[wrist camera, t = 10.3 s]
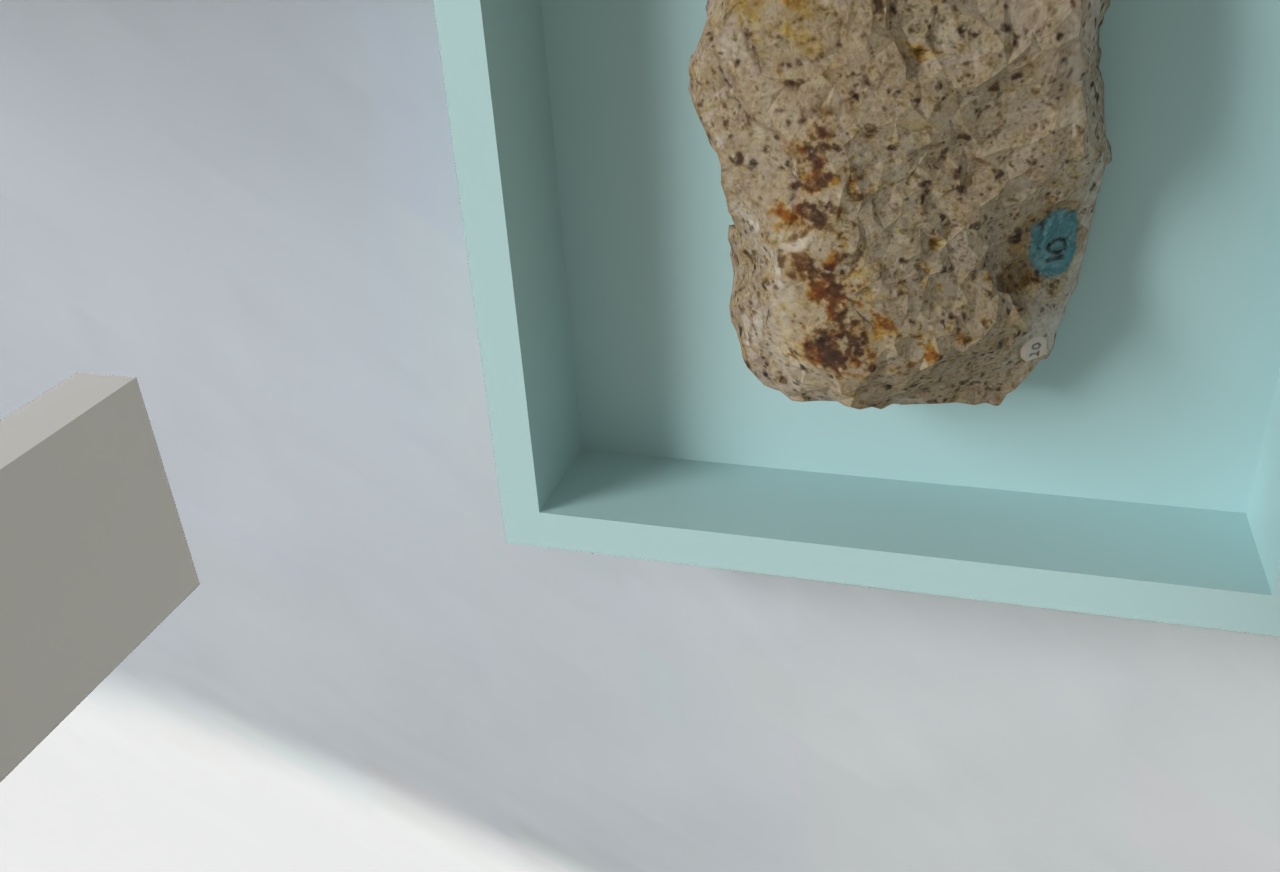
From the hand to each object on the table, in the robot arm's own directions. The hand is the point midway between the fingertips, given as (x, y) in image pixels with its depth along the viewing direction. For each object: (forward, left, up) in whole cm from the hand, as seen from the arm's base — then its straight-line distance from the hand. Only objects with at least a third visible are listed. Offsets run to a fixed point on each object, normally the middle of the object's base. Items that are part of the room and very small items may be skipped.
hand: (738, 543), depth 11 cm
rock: (0, 0, -16) cm, 16 cm away
